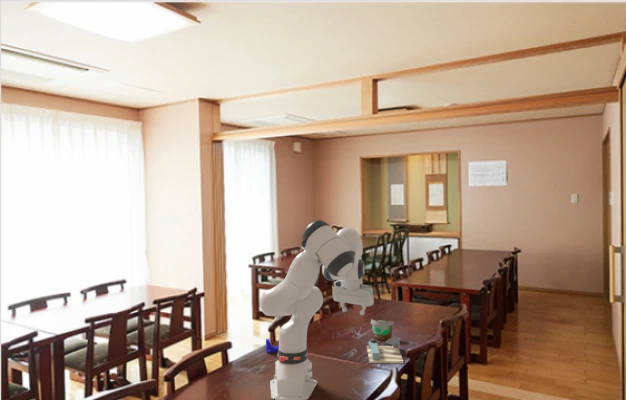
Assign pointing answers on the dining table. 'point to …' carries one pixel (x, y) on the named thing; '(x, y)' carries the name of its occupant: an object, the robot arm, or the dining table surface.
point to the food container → (382, 329)
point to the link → (374, 350)
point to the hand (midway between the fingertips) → (353, 313)
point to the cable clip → (270, 347)
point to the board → (386, 354)
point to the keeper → (393, 342)
